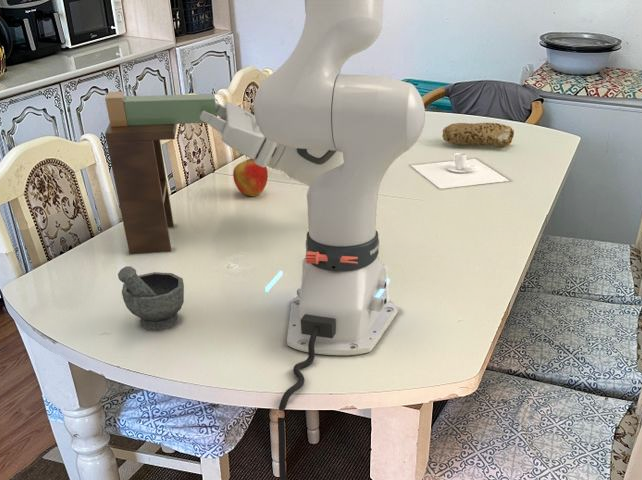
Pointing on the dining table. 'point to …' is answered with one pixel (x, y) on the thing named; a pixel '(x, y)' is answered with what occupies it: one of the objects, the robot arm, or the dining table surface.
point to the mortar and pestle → (152, 297)
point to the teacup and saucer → (458, 172)
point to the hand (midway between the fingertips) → (201, 107)
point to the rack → (142, 184)
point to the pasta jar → (157, 109)
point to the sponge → (478, 134)
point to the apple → (250, 177)
